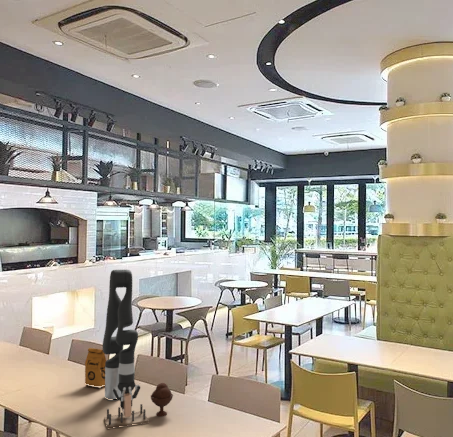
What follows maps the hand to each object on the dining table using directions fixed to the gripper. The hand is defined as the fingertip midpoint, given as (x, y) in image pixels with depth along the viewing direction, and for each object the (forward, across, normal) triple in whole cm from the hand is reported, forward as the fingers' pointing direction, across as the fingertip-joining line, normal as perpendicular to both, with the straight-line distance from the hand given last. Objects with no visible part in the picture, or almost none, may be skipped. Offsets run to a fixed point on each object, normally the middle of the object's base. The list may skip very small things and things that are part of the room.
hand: (126, 407), depth 221 cm
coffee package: (+6, +8, -57) cm, 58 cm away
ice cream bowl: (+7, -18, -2) cm, 19 cm away
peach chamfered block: (+2, 0, 0) cm, 2 cm away
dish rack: (+6, 0, 0) cm, 6 cm away
